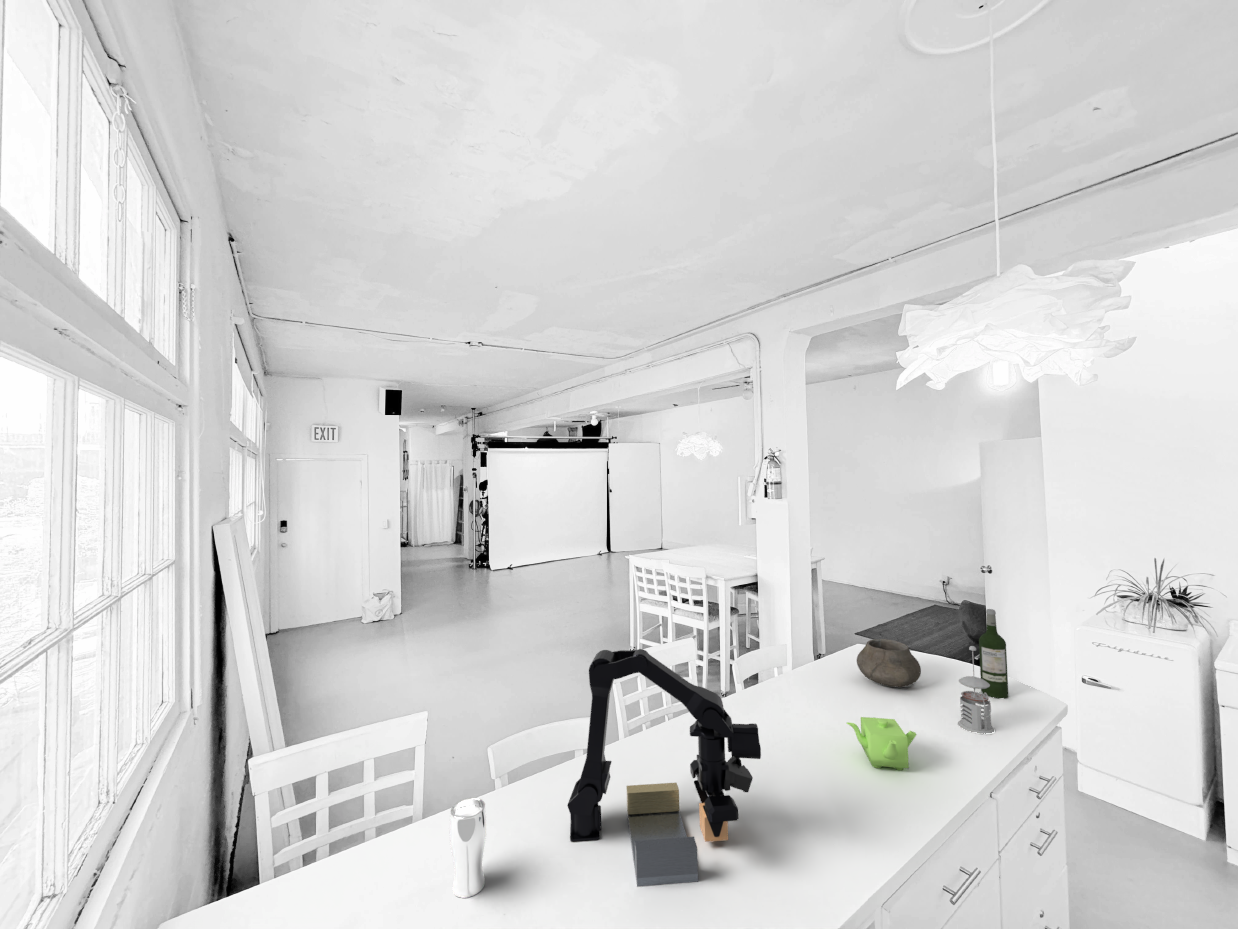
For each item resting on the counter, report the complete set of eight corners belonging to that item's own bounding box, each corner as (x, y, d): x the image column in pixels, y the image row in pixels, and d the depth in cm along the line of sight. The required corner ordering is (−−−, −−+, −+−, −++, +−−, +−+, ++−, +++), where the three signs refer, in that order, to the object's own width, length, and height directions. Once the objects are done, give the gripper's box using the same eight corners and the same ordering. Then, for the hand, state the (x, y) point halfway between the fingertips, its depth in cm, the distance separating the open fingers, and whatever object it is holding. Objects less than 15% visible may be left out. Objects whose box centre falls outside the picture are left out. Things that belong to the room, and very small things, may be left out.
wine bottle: (986, 697, 182) (982, 611, 183) (977, 689, 190) (974, 606, 191) (1012, 700, 180) (1008, 613, 181) (1003, 691, 188) (999, 607, 189)
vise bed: (637, 886, 100) (636, 851, 100) (627, 814, 122) (626, 785, 122) (698, 881, 101) (697, 847, 101) (677, 810, 123) (676, 782, 123)
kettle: (896, 783, 132) (894, 738, 133) (845, 760, 144) (843, 719, 144) (924, 764, 141) (922, 722, 141) (873, 743, 152) (871, 705, 153)
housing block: (705, 841, 110) (704, 816, 110) (699, 826, 115) (699, 802, 115) (728, 840, 110) (727, 814, 110) (721, 824, 115) (721, 800, 115)
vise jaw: (628, 814, 119) (627, 793, 119) (626, 806, 122) (626, 785, 122) (679, 811, 120) (678, 790, 120) (677, 803, 123) (676, 782, 123)
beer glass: (490, 871, 105) (489, 796, 105) (482, 899, 98) (481, 818, 98) (455, 873, 105) (455, 797, 105) (445, 901, 98) (444, 819, 98)
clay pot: (922, 679, 200) (920, 640, 200) (920, 699, 182) (918, 656, 182) (861, 669, 211) (859, 632, 212) (853, 687, 193) (851, 647, 194)
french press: (983, 720, 165) (979, 641, 166) (1006, 738, 154) (1002, 653, 155) (951, 719, 166) (947, 641, 167) (971, 737, 155) (968, 652, 156)
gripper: (762, 777, 104) (764, 856, 104) (735, 732, 123) (736, 799, 122) (708, 780, 104) (710, 860, 103) (689, 735, 122) (690, 802, 122)
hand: (713, 828), depth 113 cm, fingers closed on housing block, 5 cm apart
